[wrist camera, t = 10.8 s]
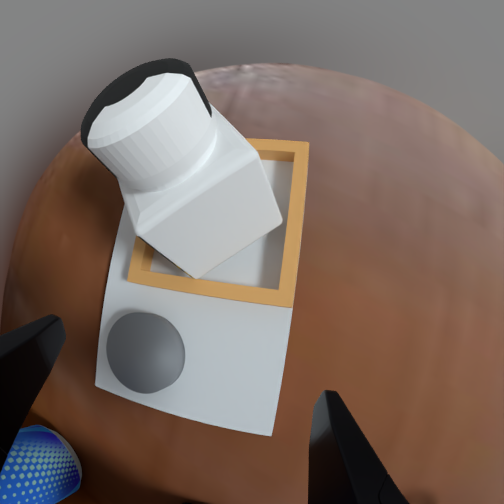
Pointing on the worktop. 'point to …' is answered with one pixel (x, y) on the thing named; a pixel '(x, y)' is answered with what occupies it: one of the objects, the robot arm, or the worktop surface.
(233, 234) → the medicine bottle
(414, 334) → the worktop surface
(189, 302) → the plate with orange frame
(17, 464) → the beer can
